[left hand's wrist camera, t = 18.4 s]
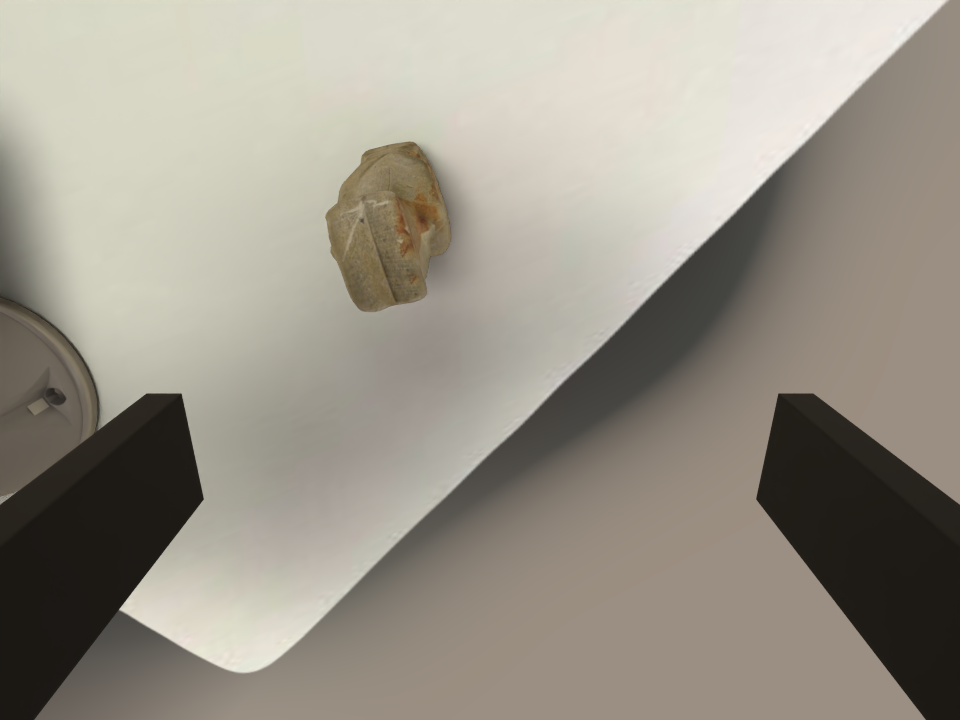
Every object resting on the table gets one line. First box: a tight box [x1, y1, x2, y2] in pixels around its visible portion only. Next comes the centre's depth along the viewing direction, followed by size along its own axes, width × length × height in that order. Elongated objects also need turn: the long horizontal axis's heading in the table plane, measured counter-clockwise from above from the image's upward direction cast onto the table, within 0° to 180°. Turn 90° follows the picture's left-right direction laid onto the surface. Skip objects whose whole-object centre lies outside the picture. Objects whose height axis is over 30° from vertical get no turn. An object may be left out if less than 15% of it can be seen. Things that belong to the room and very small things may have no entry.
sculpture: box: [325, 142, 451, 312], centre depth 30 cm, size 6×7×15 cm
